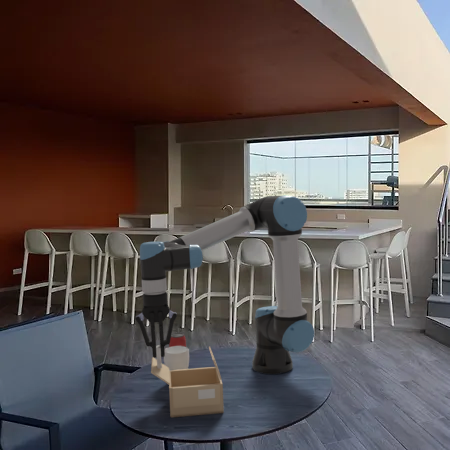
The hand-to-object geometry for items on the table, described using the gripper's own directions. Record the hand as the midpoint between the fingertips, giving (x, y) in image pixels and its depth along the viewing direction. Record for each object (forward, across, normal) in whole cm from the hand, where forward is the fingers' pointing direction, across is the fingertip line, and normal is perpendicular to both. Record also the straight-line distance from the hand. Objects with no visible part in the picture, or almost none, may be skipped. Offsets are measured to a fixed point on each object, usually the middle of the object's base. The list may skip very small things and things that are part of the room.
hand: (159, 367), depth 158 cm
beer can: (+14, -7, -39) cm, 42 cm away
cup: (+13, -6, -20) cm, 25 cm away
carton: (+13, -10, 0) cm, 17 cm away
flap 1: (+3, -3, 0) cm, 5 cm away
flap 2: (+4, -18, 0) cm, 19 cm away
